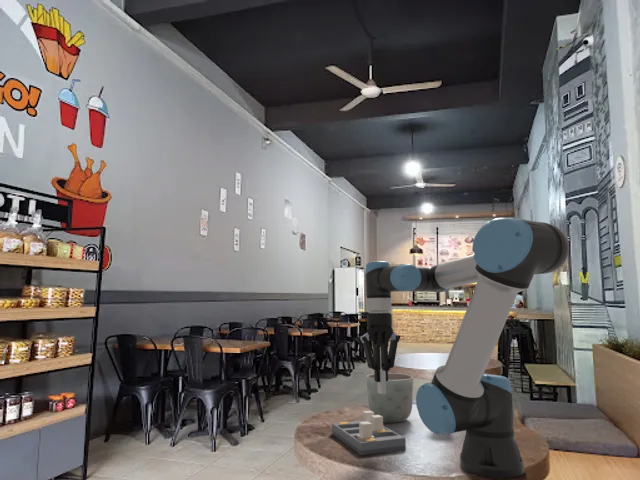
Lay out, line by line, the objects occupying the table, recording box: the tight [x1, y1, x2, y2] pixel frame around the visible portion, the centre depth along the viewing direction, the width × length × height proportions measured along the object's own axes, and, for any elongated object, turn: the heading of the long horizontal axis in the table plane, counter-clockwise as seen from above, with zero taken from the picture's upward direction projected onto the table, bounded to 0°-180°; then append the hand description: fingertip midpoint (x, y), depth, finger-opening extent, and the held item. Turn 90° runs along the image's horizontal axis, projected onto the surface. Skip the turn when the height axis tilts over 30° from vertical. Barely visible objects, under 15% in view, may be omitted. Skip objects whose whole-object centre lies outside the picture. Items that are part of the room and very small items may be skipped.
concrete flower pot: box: [365, 372, 414, 424], centre depth 161 cm, size 17×17×15 cm
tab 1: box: [361, 410, 374, 423], centre depth 142 cm, size 3×4×6 cm
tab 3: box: [371, 415, 385, 432], centre depth 137 cm, size 3×4×6 cm
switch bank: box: [331, 419, 407, 456], centre depth 135 cm, size 22×14×3 cm, turn 20°
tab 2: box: [357, 421, 375, 440], centre depth 129 cm, size 3×4×6 cm
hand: (381, 393), depth 132 cm, fingers closed
